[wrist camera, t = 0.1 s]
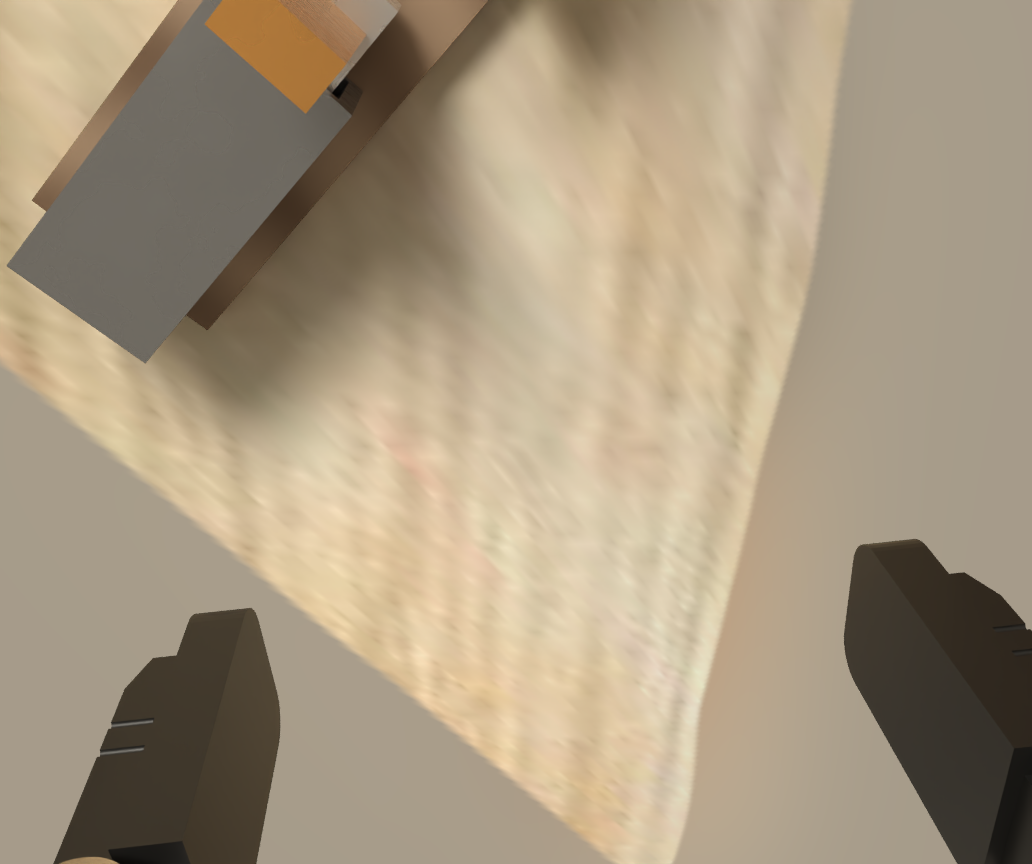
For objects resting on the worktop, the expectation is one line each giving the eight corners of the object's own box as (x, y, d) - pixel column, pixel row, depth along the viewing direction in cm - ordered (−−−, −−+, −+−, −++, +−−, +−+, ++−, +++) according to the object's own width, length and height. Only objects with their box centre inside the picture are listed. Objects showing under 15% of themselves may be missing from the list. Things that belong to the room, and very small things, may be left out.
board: (214, 317, 40) (207, 330, 39) (46, 191, 37) (31, 200, 36) (636, -179, 33) (644, -184, 31) (468, -385, 30) (470, -401, 28)
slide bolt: (163, 295, 37) (60, 431, 27) (82, 235, 36) (-58, 354, 25) (401, 5, 33) (387, 34, 23) (319, -76, 31) (265, -83, 21)
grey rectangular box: (180, 310, 38) (145, 363, 34) (62, 222, 36) (6, 265, 31) (363, 91, 35) (352, 115, 30) (243, -19, 33) (211, -12, 28)
